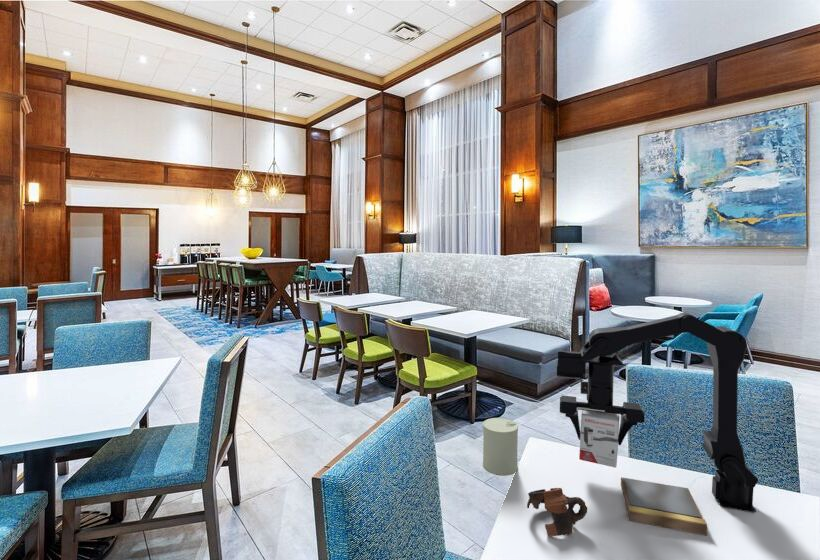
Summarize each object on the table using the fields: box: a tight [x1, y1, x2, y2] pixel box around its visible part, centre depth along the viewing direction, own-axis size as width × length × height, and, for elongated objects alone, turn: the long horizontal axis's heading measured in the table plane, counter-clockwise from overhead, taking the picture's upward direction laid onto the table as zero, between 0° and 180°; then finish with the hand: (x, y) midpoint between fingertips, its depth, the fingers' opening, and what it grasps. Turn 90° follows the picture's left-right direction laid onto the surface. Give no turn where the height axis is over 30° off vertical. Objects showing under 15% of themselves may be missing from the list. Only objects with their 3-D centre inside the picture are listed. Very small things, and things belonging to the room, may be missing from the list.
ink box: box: [579, 410, 620, 469], centre depth 104 cm, size 9×5×12 cm, turn 63°
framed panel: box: [620, 477, 708, 536], centre depth 93 cm, size 14×14×2 cm
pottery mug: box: [526, 487, 588, 537], centre depth 88 cm, size 12×10×8 cm
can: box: [482, 417, 519, 477], centre depth 110 cm, size 9×9×12 cm
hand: (599, 441), depth 104 cm, fingers closed on ink box, 9 cm apart
